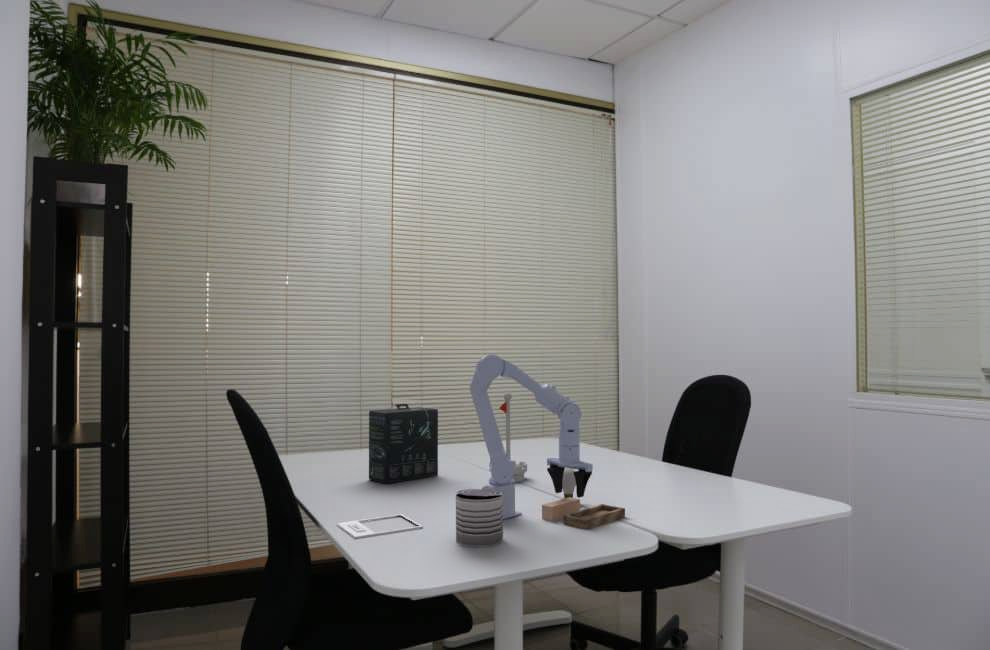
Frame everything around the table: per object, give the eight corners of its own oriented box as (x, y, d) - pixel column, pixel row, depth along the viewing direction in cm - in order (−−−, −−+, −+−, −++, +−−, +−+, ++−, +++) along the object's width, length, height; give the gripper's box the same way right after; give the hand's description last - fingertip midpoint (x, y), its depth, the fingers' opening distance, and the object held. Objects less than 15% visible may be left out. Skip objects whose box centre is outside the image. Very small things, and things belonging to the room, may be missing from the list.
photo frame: (336, 522, 178) (401, 513, 187) (336, 526, 178) (401, 517, 187) (354, 535, 165) (423, 525, 174) (354, 540, 165) (423, 529, 174)
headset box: (419, 471, 252) (419, 401, 253) (439, 475, 243) (439, 403, 244) (367, 479, 237) (366, 405, 238) (386, 484, 228) (386, 407, 229)
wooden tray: (586, 529, 171) (586, 520, 171) (563, 524, 177) (563, 515, 177) (625, 516, 183) (624, 508, 183) (602, 512, 189) (602, 504, 189)
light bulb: (567, 498, 205) (566, 465, 205) (582, 502, 201) (582, 467, 201) (554, 502, 201) (554, 468, 201) (570, 505, 197) (569, 470, 197)
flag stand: (503, 474, 245) (503, 390, 246) (534, 477, 238) (533, 391, 238) (482, 480, 235) (481, 392, 235) (513, 484, 227) (512, 394, 228)
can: (445, 541, 163) (445, 490, 163) (480, 531, 171) (480, 483, 171) (478, 551, 154) (478, 497, 155) (513, 540, 162) (512, 489, 163)
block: (552, 522, 179) (551, 506, 180) (542, 519, 182) (541, 504, 182) (580, 513, 188) (579, 499, 188) (570, 511, 190) (569, 497, 191)
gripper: (599, 446, 186) (599, 496, 186) (558, 441, 196) (558, 488, 196) (583, 449, 181) (583, 500, 181) (542, 443, 191) (542, 492, 191)
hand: (569, 494), depth 188 cm, fingers open, 7 cm apart
